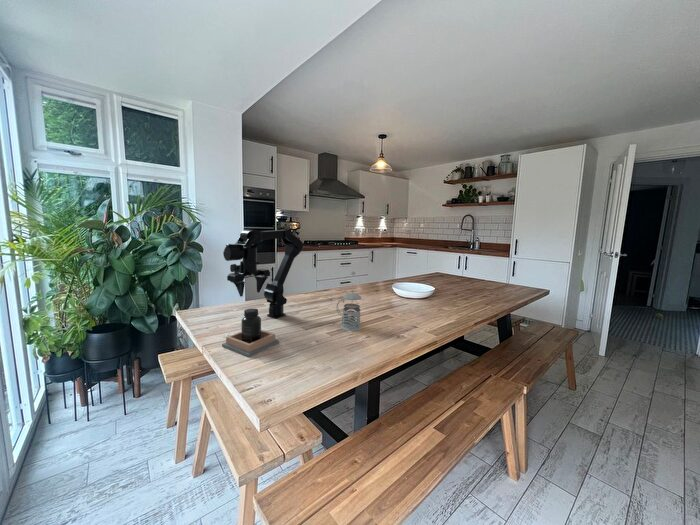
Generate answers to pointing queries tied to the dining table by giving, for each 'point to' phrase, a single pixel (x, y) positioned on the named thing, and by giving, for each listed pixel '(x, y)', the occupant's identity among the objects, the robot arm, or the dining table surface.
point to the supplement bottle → (251, 326)
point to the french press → (351, 313)
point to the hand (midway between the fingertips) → (250, 294)
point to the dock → (247, 349)
